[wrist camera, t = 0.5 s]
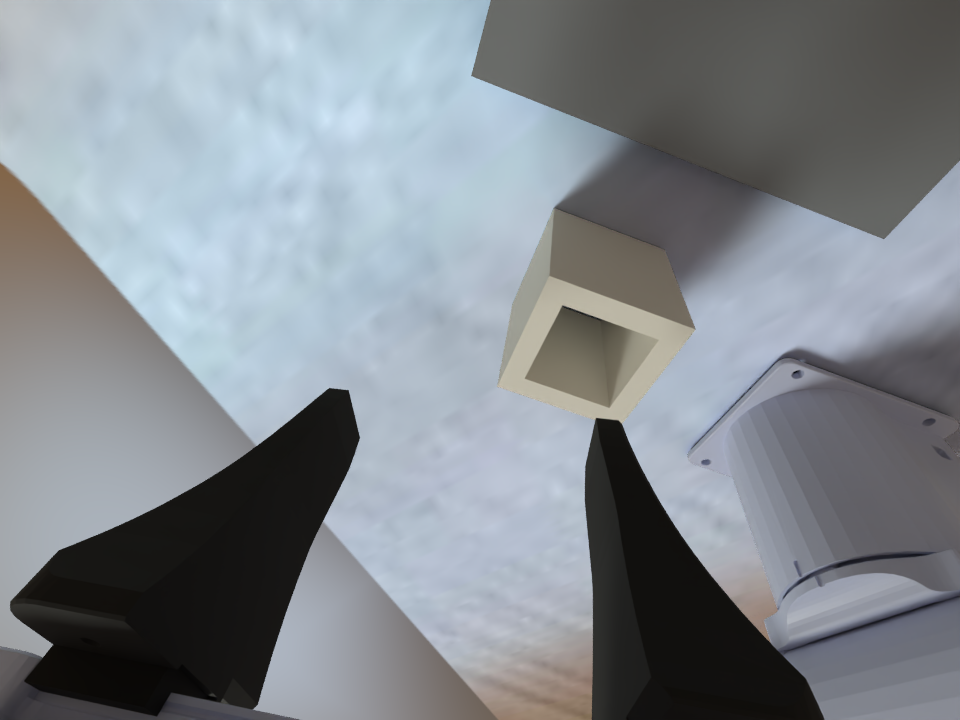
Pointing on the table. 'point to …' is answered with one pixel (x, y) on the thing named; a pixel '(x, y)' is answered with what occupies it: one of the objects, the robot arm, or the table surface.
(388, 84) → the table surface
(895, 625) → the robot arm
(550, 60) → the post board
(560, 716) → the table surface
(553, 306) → the sleeve
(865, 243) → the table surface
